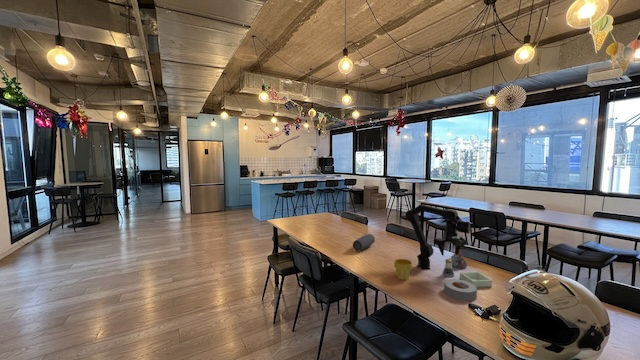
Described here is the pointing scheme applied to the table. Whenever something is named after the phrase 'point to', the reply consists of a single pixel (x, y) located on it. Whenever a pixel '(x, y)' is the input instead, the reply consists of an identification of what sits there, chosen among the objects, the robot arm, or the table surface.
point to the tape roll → (460, 290)
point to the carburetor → (458, 261)
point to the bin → (476, 279)
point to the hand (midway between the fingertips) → (449, 255)
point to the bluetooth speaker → (363, 242)
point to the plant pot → (403, 268)
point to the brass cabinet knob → (448, 266)
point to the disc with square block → (448, 274)
